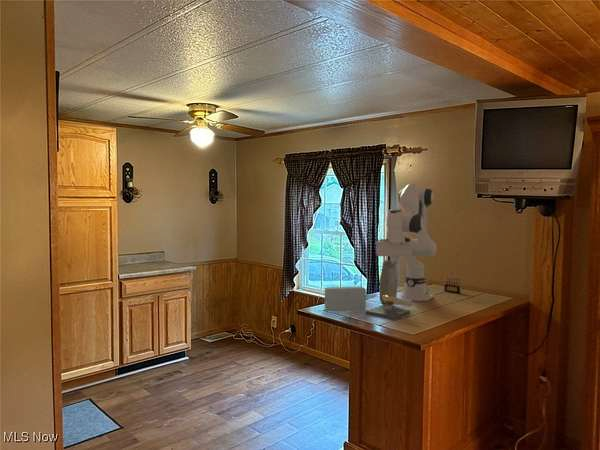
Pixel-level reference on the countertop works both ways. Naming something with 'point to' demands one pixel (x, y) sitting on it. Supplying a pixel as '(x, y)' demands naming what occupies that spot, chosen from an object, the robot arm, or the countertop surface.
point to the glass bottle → (388, 280)
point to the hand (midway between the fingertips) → (394, 263)
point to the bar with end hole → (345, 298)
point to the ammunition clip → (452, 284)
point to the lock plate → (388, 312)
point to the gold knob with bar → (395, 300)
